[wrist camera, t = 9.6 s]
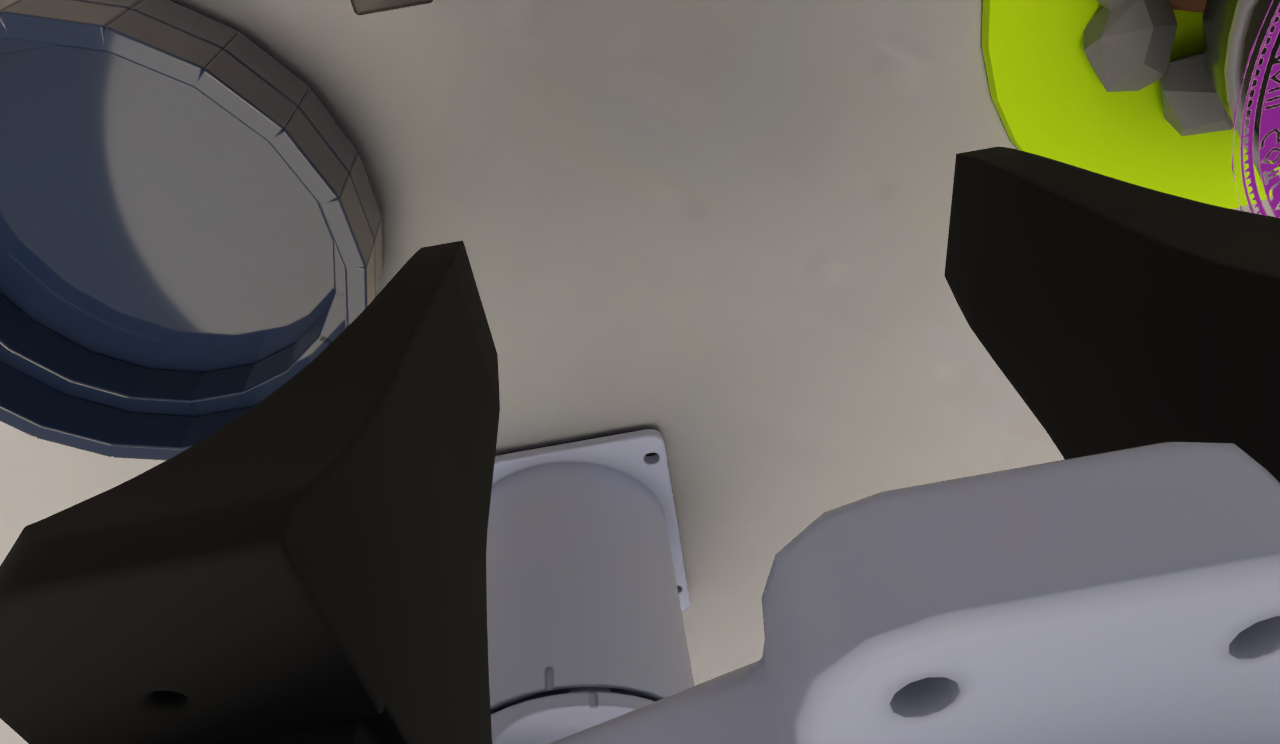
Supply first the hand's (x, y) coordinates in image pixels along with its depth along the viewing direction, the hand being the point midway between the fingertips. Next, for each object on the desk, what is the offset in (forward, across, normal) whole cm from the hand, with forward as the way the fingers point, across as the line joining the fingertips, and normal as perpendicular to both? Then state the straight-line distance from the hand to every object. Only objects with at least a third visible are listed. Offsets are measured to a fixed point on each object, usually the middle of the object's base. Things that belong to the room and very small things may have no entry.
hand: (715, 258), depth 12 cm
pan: (+10, +13, +2) cm, 17 cm away
